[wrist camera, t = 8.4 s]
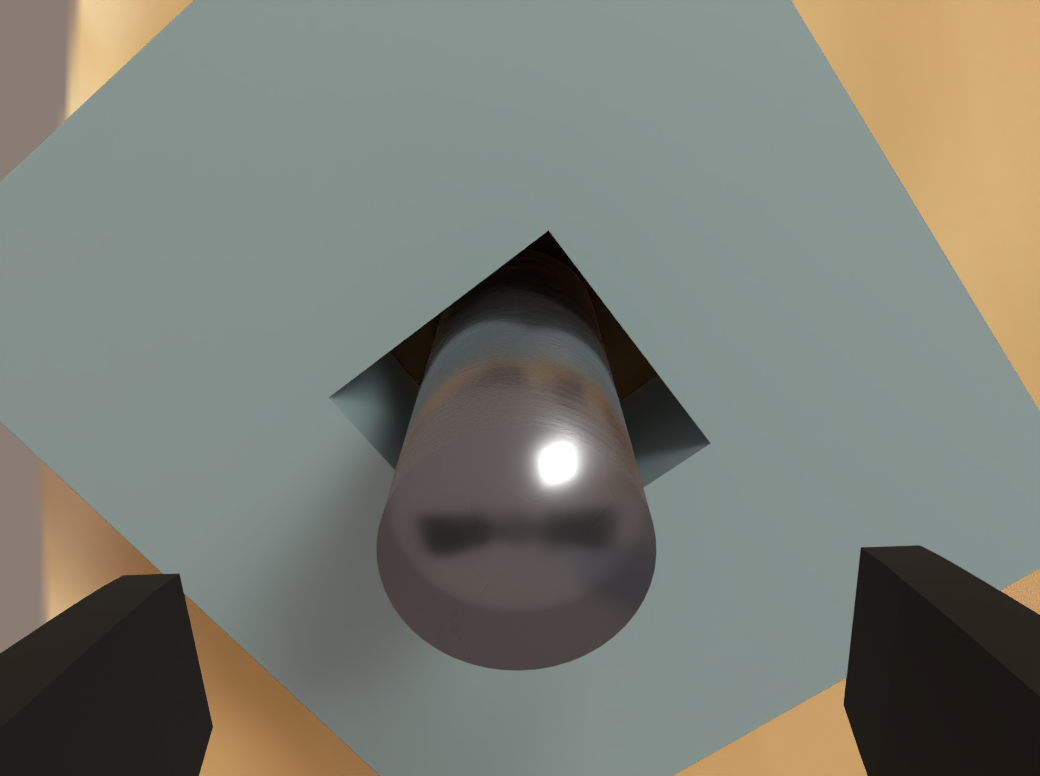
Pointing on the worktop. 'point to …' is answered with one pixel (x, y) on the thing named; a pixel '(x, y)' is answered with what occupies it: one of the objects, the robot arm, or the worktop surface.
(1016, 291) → the worktop surface
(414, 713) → the hole block
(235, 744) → the worktop surface
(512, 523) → the long pin
